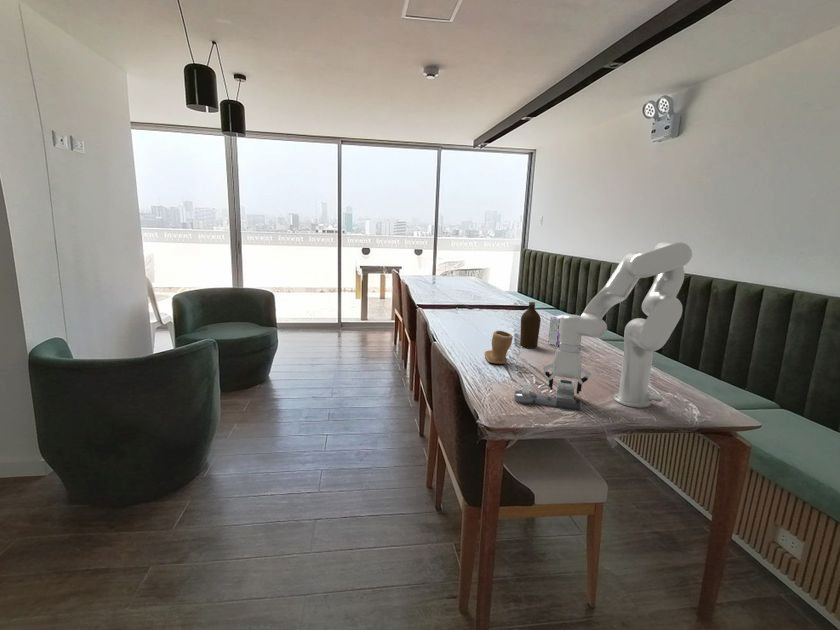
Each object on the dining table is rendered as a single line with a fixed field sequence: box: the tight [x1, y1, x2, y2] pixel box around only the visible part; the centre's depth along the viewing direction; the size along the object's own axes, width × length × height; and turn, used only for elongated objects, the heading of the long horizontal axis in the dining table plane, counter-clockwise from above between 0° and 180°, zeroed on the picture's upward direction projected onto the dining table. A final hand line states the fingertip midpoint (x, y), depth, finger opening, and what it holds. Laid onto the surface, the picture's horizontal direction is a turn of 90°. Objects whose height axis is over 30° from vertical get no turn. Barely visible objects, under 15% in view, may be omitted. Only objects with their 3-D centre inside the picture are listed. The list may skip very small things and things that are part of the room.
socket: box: [555, 378, 576, 400], centre depth 161 cm, size 6×6×6 cm
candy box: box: [547, 314, 566, 347], centre depth 242 cm, size 14×6×16 cm, turn 130°
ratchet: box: [513, 382, 583, 411], centre depth 153 cm, size 24×8×6 cm, turn 71°
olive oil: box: [519, 301, 542, 349], centre depth 233 cm, size 11×11×25 cm
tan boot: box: [484, 330, 514, 365], centre depth 204 cm, size 15×12×15 cm
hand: (564, 390), depth 161 cm, fingers open, 9 cm apart
